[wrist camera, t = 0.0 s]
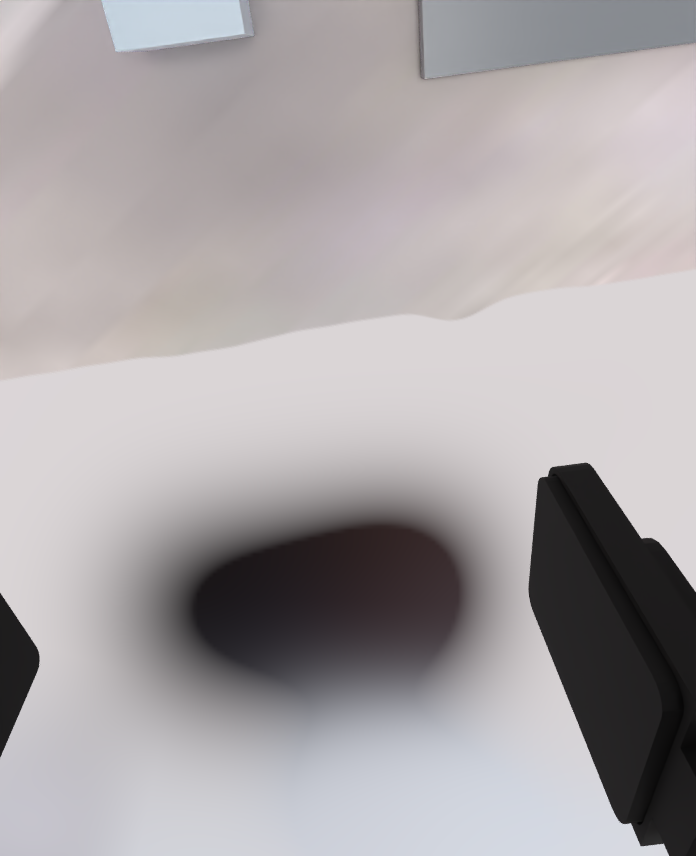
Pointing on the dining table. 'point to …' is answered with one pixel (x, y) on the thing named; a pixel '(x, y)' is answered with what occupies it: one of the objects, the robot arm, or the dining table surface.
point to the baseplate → (543, 31)
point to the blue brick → (175, 22)
